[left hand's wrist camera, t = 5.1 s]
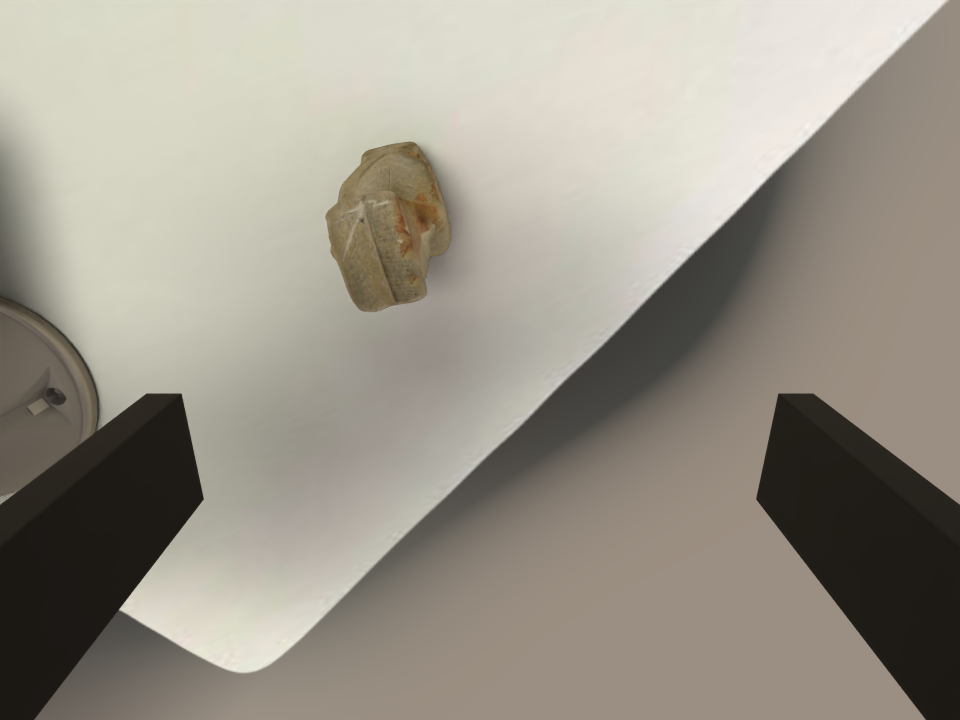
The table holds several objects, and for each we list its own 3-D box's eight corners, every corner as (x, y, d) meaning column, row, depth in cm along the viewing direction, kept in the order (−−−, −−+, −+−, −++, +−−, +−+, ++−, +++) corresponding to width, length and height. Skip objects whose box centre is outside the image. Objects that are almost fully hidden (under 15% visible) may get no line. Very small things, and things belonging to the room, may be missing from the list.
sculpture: (379, 262, 39) (323, 330, 25) (353, 151, 36) (274, 159, 22) (463, 248, 38) (453, 309, 24) (443, 135, 36) (419, 133, 22)
